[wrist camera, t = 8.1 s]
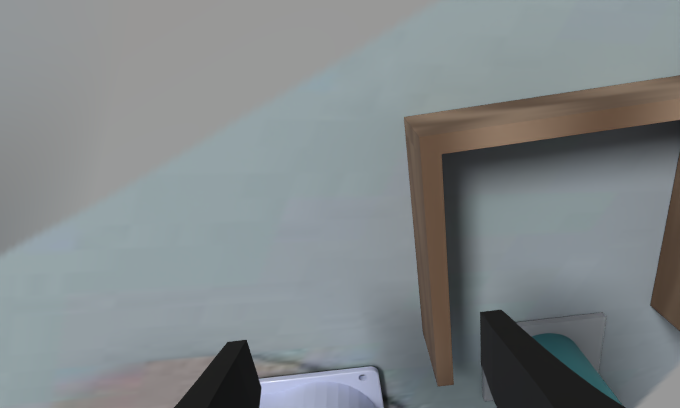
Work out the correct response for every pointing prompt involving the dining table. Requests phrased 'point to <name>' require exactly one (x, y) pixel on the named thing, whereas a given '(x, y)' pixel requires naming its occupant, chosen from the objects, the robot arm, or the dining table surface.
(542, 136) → the open u-shaped frame
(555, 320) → the mat
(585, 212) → the dining table surface
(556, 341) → the capsule
